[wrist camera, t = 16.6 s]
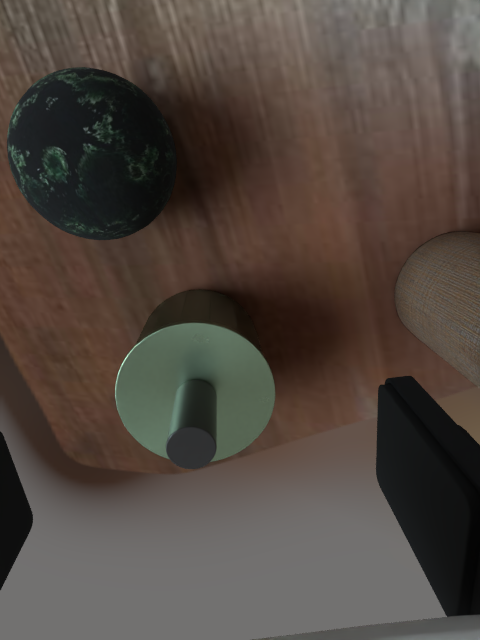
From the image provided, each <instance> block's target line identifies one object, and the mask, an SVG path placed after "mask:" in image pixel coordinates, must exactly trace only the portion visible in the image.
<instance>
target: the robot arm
mask: <svg viewBox="0 0 480 640" xmlns="http://www.w3.org/2000/svg"><path fill="white" fill-rule="evenodd" d="M376 474H377V479H378V483H379V485H380V488H381V490H382V492H383V493H384V495H385V497H386V499H387V501H388V503H389V505H390V507H391V509H392V511H393V513H394V515H395V516H396V519H397V521H398V523H399V525H400V526H401V528H402V530H403V532H404V534H405V536H406V538H407V540H408V542H409V544H410V546H411V548H412V550H413V552H414V553H415V556H416V557H417V559H418V561H419V563H420V565H421V567H422V569H423V571H424V573H425V575H426V577H427V579H428V581H429V582H430V585H431V586H432V589H433V590H434V592H435V594H436V596H437V598H438V600H439V602H440V604H441V606H442V608H443V610H444V612H445V614H446V615H447V617H442V618H434V619H423V620H414V621H405V622H395V623H385V624H376V625H366V626H358V627H350V628H342V629H334V630H327V631H319V632H311V633H302V634H295V635H286V636H278V637H270V638H262V639H254V640H480V445H479V444H478V443H477V442H476V441H475V440H474V439H473V438H472V437H471V436H470V435H469V433H467V431H466V430H465V429H463V428H462V427H461V426H459V425H457V424H456V423H455V422H454V421H453V420H452V419H451V418H450V416H449V415H448V414H447V413H446V412H445V411H444V410H443V409H442V408H441V407H440V406H439V405H438V404H437V403H436V402H435V400H434V399H433V398H432V397H431V396H430V395H429V394H428V393H427V392H426V391H425V390H424V389H423V388H422V387H421V385H420V384H419V383H418V382H417V381H416V380H415V379H414V378H413V377H412V376H403V377H395V378H388V379H386V381H385V385H380V386H379V390H378V421H377V458H376ZM32 523H33V515H32V511H31V508H30V506H29V503H28V500H27V498H26V495H25V493H24V490H23V487H22V484H21V482H20V479H19V476H18V473H17V471H16V468H15V465H14V463H13V460H12V458H11V455H10V452H9V449H8V447H7V444H6V441H5V439H4V436H3V434H2V433H1V432H0V590H1V588H2V586H3V584H4V582H5V580H6V578H7V576H8V574H9V572H10V570H11V568H12V566H13V564H14V562H15V560H16V558H17V556H18V554H19V552H20V550H21V548H22V546H23V544H24V542H25V540H26V538H27V536H28V534H29V532H30V530H31V527H32Z"/></svg>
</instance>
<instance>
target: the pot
mask: <svg viewBox="0 0 480 640" xmlns="http://www.w3.org/2000/svg"><path fill="white" fill-rule="evenodd" d="M192 320H198V321H209V322H214V323H218V324H221V325H225V326H227V327H230V328H232V329H234V330H236V331H238V332H239V333H241V334H243V335H244V336H246V337H247V338H248V339H249V340H251V341H252V342H253V343H254V344H255V345H256V346H257V347H258V348H259V349H260V351H261V352H262V350H261V346H260V342H259V338H258V334H257V332H256V330H255V327H254V324H253V322H252V320H251V318H250V316H249V315H248V313H247V312H246V311H245V310H244V308H243V307H242V306H241V305H240V304H238V303H237V302H236V301H235V300H233V299H231V298H230V297H228V296H226V295H224V294H221V293H218V292H215V291H210V290H200V289H199V290H189V291H184V292H181V293H178V294H176V295H174V296H171V297H170V298H168V299H167V300H165V301H164V302H162V303H161V304H160V305H159V306H158V307H157V308H156V309H155V310H154V312H153V313H152V314H151V315H150V316H149V318H148V320H147V322H146V324H145V326H144V328H143V330H142V332H141V334H140V337H139V339H138V341H137V342H139V341H140V340H141V339H142V338H143V337H144V336H146V335H148V334H149V333H151V332H152V331H154V330H156V329H158V328H160V327H163V326H166V325H169V324H172V323H176V322H181V321H192Z"/></svg>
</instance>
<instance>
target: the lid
mask: <svg viewBox="0 0 480 640" xmlns="http://www.w3.org/2000/svg"><path fill="white" fill-rule="evenodd" d="M115 399H116V404H117V409H118V412H119V415H120V417H121V419H122V421H123V423H124V425H125V427H126V428H127V430H128V431H129V433H130V434H131V435H132V436H133V437H134V438H135V439H136V440H137V441H138V442H139V443H140V444H141V445H143V446H144V447H146V448H147V449H149V450H150V451H152V452H154V453H156V454H158V455H160V456H162V457H165V458H167V459H170V460H171V461H172V462H173V463H174V464H176V465H177V466H179V467H182V468H185V469H197V468H201V467H203V466H205V465H207V464H208V463H209V462H212V461H217V460H220V459H224V458H227V457H229V456H231V455H234V454H236V453H238V452H239V451H241V450H243V449H244V448H246V447H247V446H248V445H250V444H251V443H252V442H253V441H254V440H255V439H256V438H257V437H258V436H259V435H260V434H261V432H262V431H263V430H264V428H265V426H266V425H267V423H268V421H269V419H270V417H271V414H272V411H273V407H274V402H275V384H274V378H273V375H272V372H271V369H270V366H269V364H268V362H267V360H266V358H265V357H264V355H263V354H262V352H261V351H260V349H259V348H258V347H257V346H256V345H255V344H254V343H253V342H252V341H251V340H249V339H248V338H247V337H246V336H244V335H243V334H241V333H239V332H238V331H236V330H234V329H232V328H230V327H227V326H225V325H221V324H218V323H214V322H209V321H198V320H192V321H181V322H176V323H172V324H169V325H166V326H163V327H160V328H158V329H156V330H154V331H152V332H151V333H149V334H148V335H146V336H144V337H143V338H142V339H141V340H140V341H139V342H137V343H136V344H135V346H134V347H133V348H132V349H131V350H130V351H129V353H128V354H127V356H126V357H125V359H124V361H123V363H122V365H121V367H120V370H119V372H118V376H117V379H116V387H115Z"/></svg>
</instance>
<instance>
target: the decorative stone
mask: <svg viewBox="0 0 480 640" xmlns="http://www.w3.org/2000/svg"><path fill="white" fill-rule="evenodd" d="M7 150H8V160H9V164H10V168H11V171H12V174H13V176H14V179H15V181H16V183H17V185H18V187H19V189H20V191H21V192H22V194H23V196H24V197H25V198H26V200H27V201H28V202H29V203H30V205H31V206H32V207H33V208H34V209H35V210H36V211H37V212H38V213H39V214H40V215H42V216H43V217H44V218H45V219H46V220H48V221H49V222H50V223H52V224H53V225H54V226H56V227H58V228H60V229H61V230H63V231H65V232H67V233H70V234H73V235H75V236H78V237H83V238H87V239H94V240H111V239H118V238H122V237H125V236H128V235H131V234H133V233H135V232H137V231H139V230H141V229H142V228H144V227H146V226H147V225H149V224H150V223H151V222H152V221H153V220H154V219H155V218H156V217H157V216H158V215H159V214H160V213H161V211H162V210H163V209H164V207H165V205H166V204H167V202H168V200H169V198H170V196H171V193H172V190H173V187H174V183H175V178H176V168H177V158H176V150H175V144H174V141H173V137H172V134H171V131H170V129H169V126H168V124H167V122H166V121H165V119H164V117H163V115H162V114H161V112H160V111H159V109H158V108H157V106H156V105H155V104H154V103H153V101H152V100H151V99H150V98H149V97H148V96H147V95H146V94H145V93H144V92H143V91H142V90H141V89H140V88H138V87H137V86H136V85H134V84H133V83H131V82H130V81H128V80H126V79H124V78H122V77H120V76H118V75H115V74H113V73H110V72H107V71H103V70H99V69H93V68H85V67H82V68H69V69H63V70H59V71H56V72H53V73H51V74H49V75H47V76H45V77H43V78H42V79H40V80H38V81H37V82H36V83H34V84H33V85H32V86H31V87H30V88H29V89H28V90H27V92H26V93H25V94H24V95H23V96H22V98H21V99H20V101H19V102H18V104H17V105H16V107H15V109H14V112H13V114H12V117H11V120H10V124H9V129H8V136H7Z"/></svg>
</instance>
